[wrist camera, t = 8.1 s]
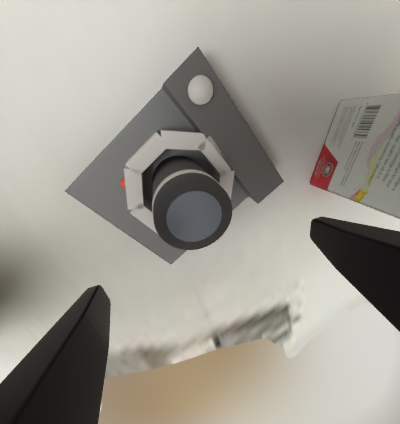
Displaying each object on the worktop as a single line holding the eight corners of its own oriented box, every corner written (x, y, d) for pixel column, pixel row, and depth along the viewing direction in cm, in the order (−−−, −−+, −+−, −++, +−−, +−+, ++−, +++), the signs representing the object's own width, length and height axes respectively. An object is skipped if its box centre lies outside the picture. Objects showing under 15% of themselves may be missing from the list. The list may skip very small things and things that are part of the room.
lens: (207, 198, 19) (237, 239, 12) (160, 211, 18) (165, 261, 12) (198, 149, 16) (229, 168, 10) (144, 162, 16) (140, 190, 9)
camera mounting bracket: (169, 257, 22) (173, 282, 19) (70, 186, 16) (49, 203, 13) (265, 172, 20) (287, 183, 17) (188, 60, 15) (200, 43, 11)
